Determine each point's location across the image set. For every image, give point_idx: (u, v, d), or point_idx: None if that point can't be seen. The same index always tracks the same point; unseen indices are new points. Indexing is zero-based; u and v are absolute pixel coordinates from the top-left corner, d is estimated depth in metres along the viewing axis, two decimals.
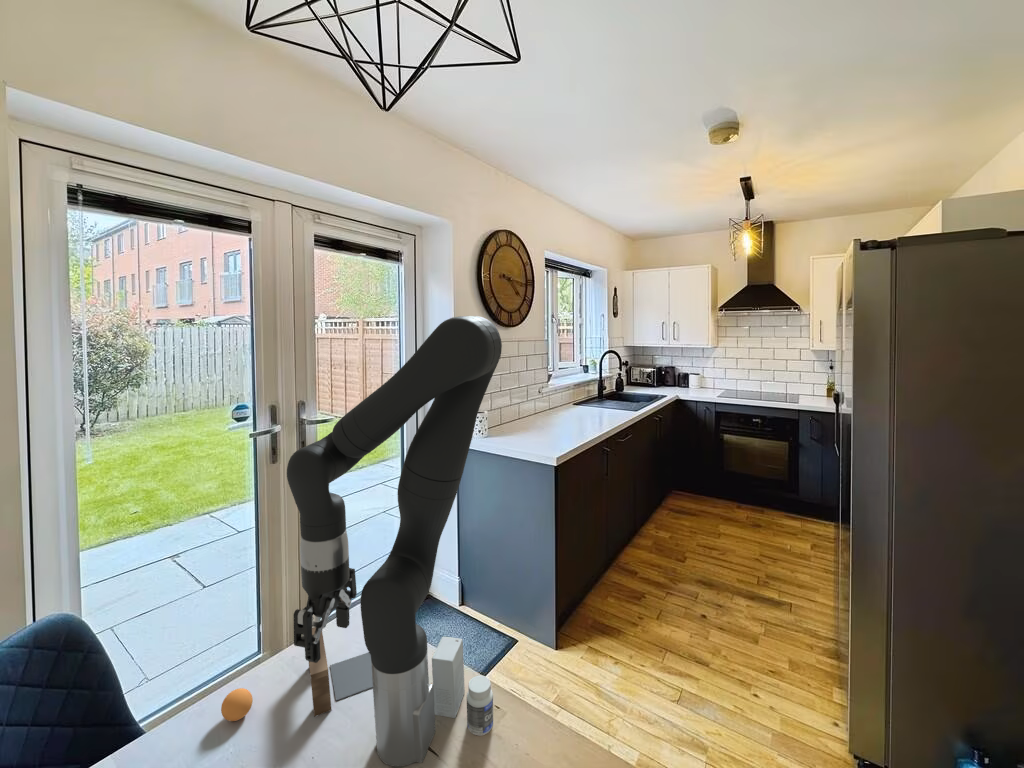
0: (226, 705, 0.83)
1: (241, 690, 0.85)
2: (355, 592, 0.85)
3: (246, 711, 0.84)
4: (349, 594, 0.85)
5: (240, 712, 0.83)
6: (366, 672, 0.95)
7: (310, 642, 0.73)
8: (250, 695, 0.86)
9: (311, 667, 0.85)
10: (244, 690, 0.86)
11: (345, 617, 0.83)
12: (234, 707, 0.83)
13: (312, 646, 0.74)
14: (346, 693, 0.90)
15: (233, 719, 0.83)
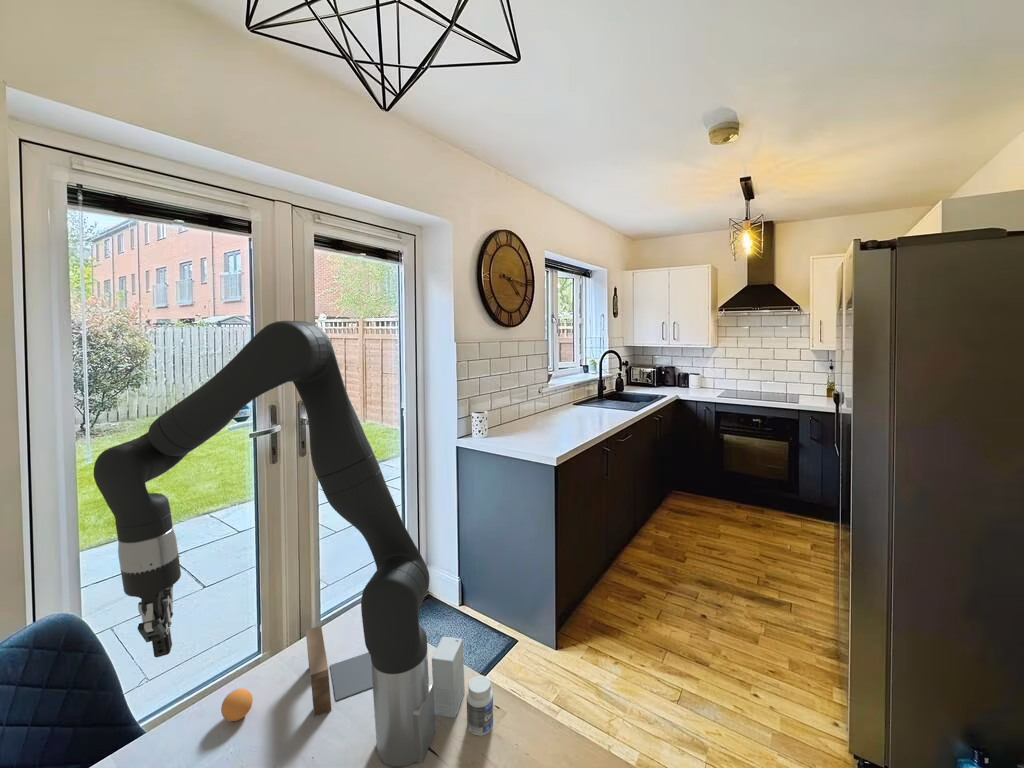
0: (226, 705, 0.83)
1: (241, 690, 0.85)
2: (171, 612, 0.81)
3: (246, 711, 0.84)
4: None
5: (240, 712, 0.83)
6: (366, 672, 0.95)
7: (165, 631, 0.76)
8: (250, 695, 0.86)
9: (311, 667, 0.85)
10: (244, 690, 0.86)
11: None
12: (234, 707, 0.83)
13: (163, 638, 0.77)
14: (346, 693, 0.90)
15: (233, 719, 0.83)
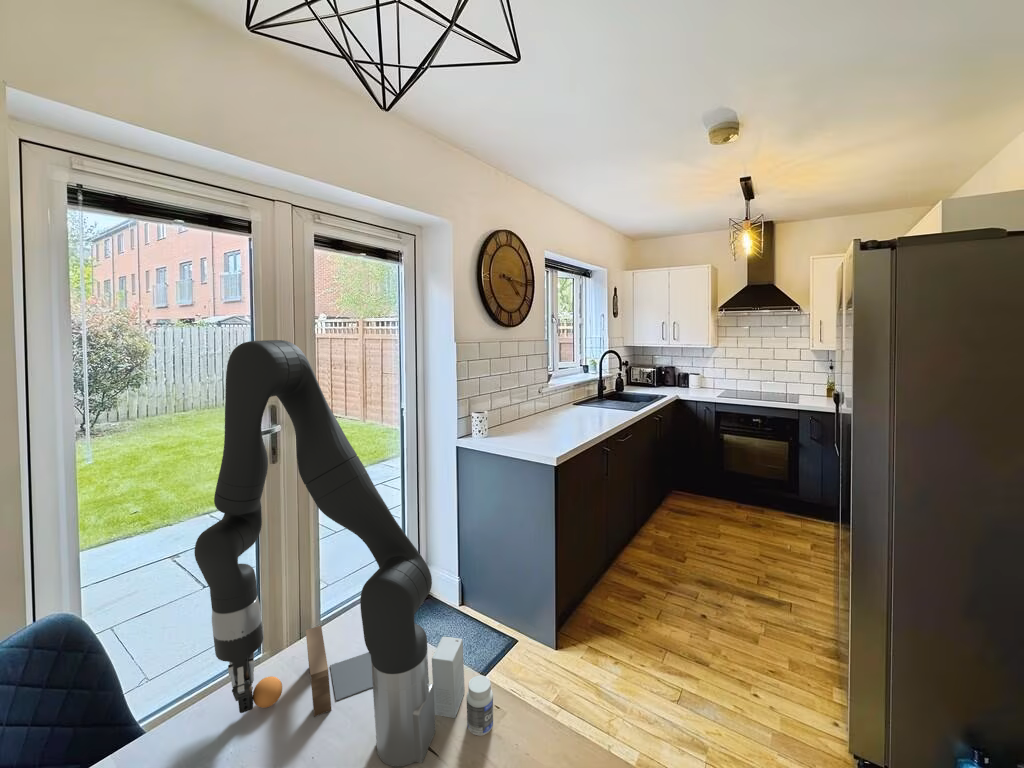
0: (277, 684, 0.87)
1: None
2: None
3: (265, 706, 0.86)
4: None
5: (269, 702, 0.86)
6: (366, 672, 0.95)
7: (251, 690, 0.83)
8: None
9: (311, 667, 0.85)
10: None
11: (250, 696, 0.85)
12: (276, 694, 0.87)
13: (248, 695, 0.84)
14: (346, 693, 0.90)
15: (262, 697, 0.85)
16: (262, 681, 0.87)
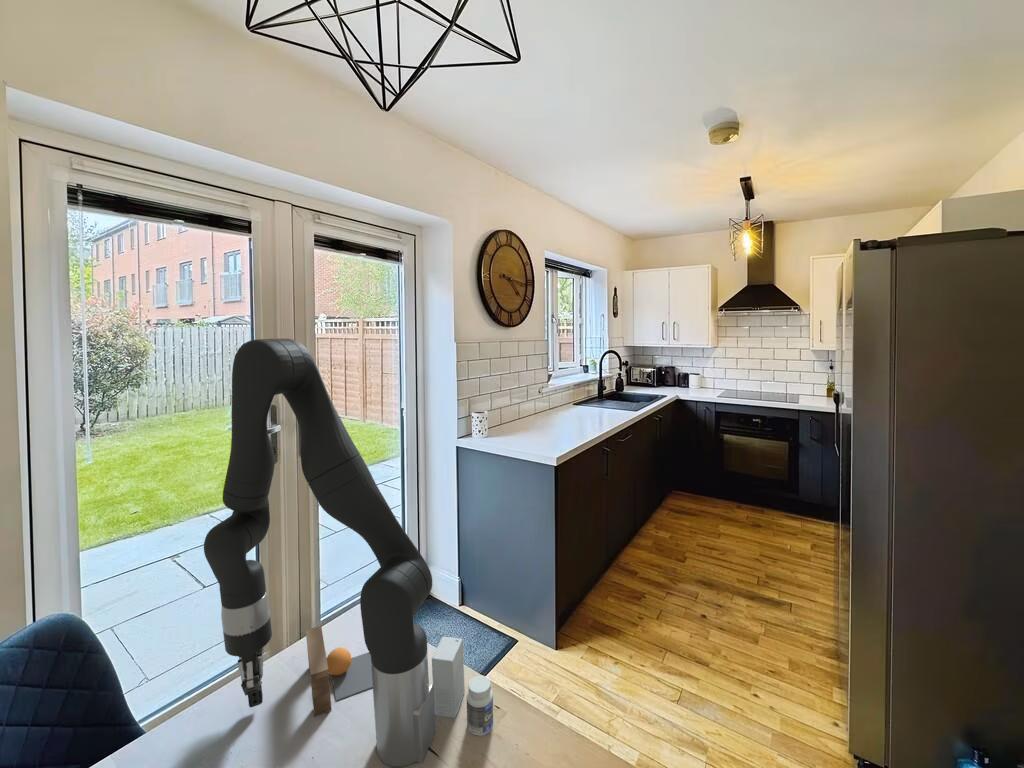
0: (336, 656, 0.94)
1: (347, 650, 0.96)
2: None
3: (345, 671, 0.94)
4: None
5: (343, 669, 0.93)
6: (366, 672, 0.95)
7: (260, 685, 0.84)
8: None
9: (311, 667, 0.85)
10: (349, 652, 0.96)
11: (259, 690, 0.86)
12: (342, 661, 0.93)
13: None
14: (346, 693, 0.90)
15: (335, 672, 0.93)
16: None
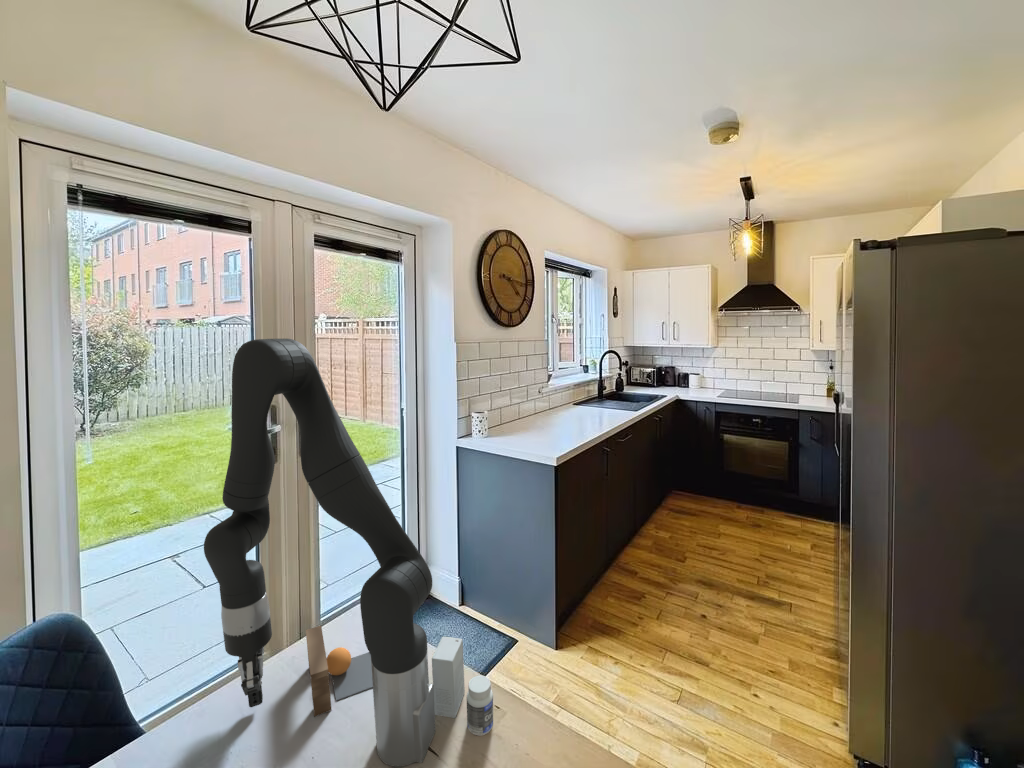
0: (336, 656, 0.94)
1: (347, 650, 0.96)
2: None
3: (345, 671, 0.94)
4: None
5: (343, 669, 0.93)
6: (366, 672, 0.95)
7: (260, 685, 0.84)
8: None
9: (311, 667, 0.85)
10: (349, 652, 0.96)
11: (259, 690, 0.86)
12: (342, 661, 0.93)
13: None
14: (346, 693, 0.90)
15: (335, 672, 0.93)
16: None
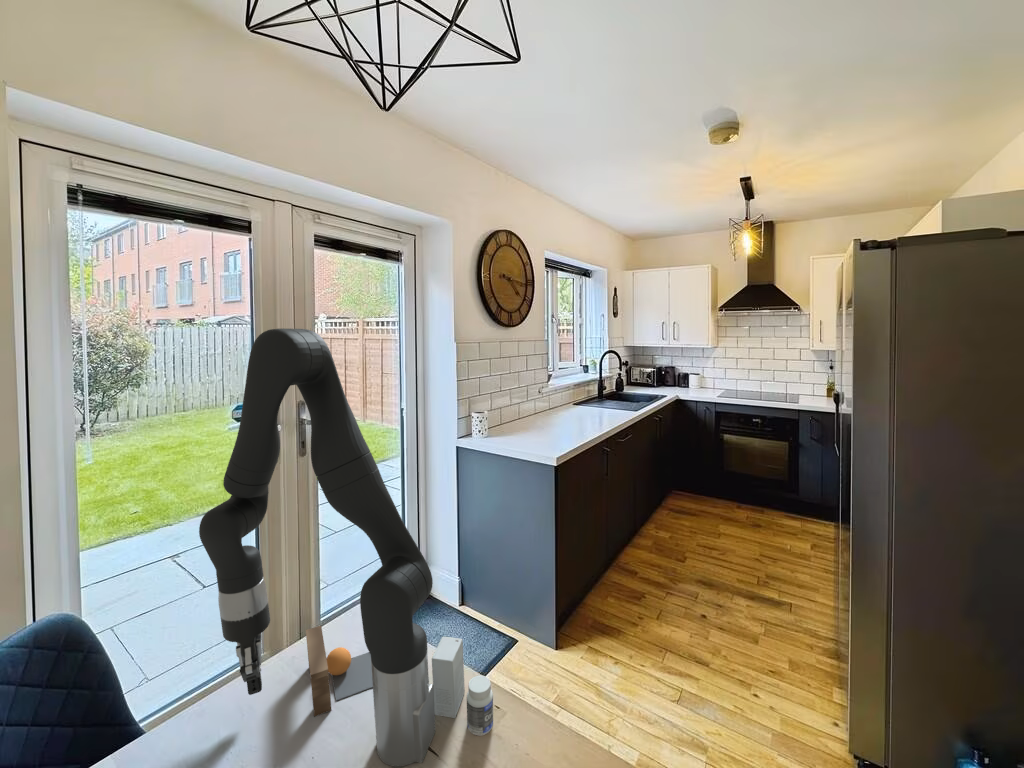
0: (336, 656, 0.94)
1: (347, 650, 0.96)
2: None
3: (345, 671, 0.94)
4: None
5: (343, 669, 0.93)
6: (366, 672, 0.95)
7: (259, 671, 0.83)
8: None
9: (311, 667, 0.85)
10: (349, 652, 0.96)
11: (258, 678, 0.86)
12: (342, 661, 0.93)
13: None
14: (346, 693, 0.90)
15: (335, 672, 0.93)
16: None
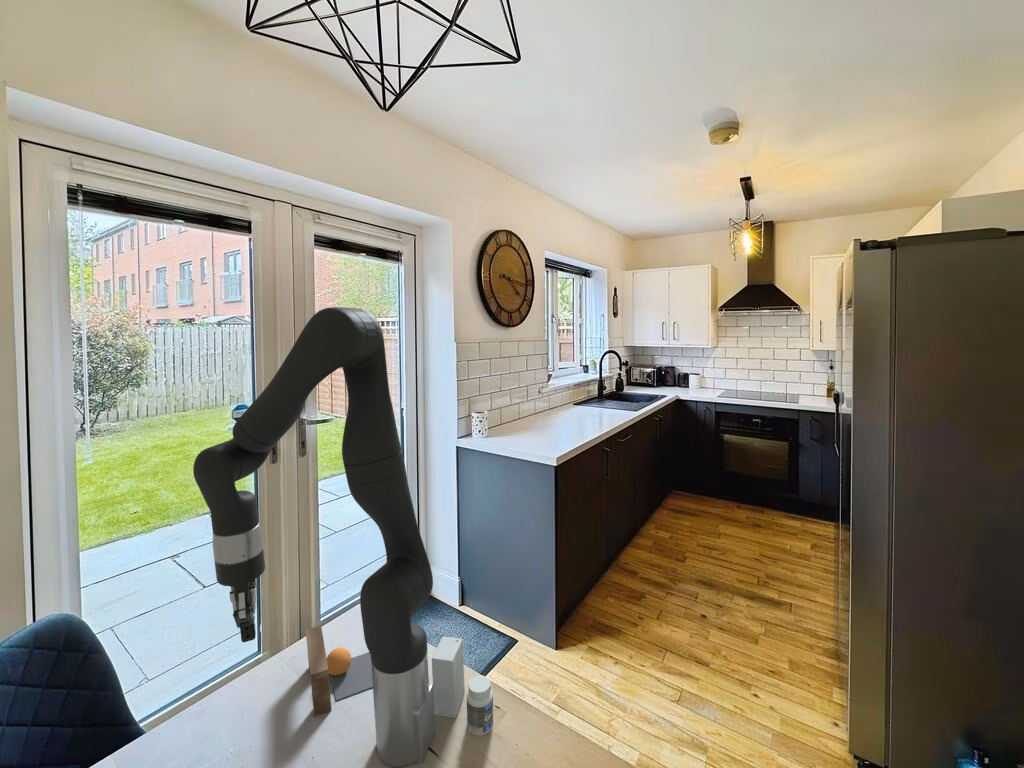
0: (336, 656, 0.94)
1: (347, 650, 0.96)
2: None
3: (345, 671, 0.94)
4: None
5: (343, 669, 0.93)
6: (366, 672, 0.95)
7: (253, 618, 0.82)
8: None
9: (311, 667, 0.85)
10: (349, 652, 0.96)
11: None
12: (342, 661, 0.93)
13: (250, 624, 0.83)
14: (346, 693, 0.90)
15: (335, 672, 0.93)
16: None
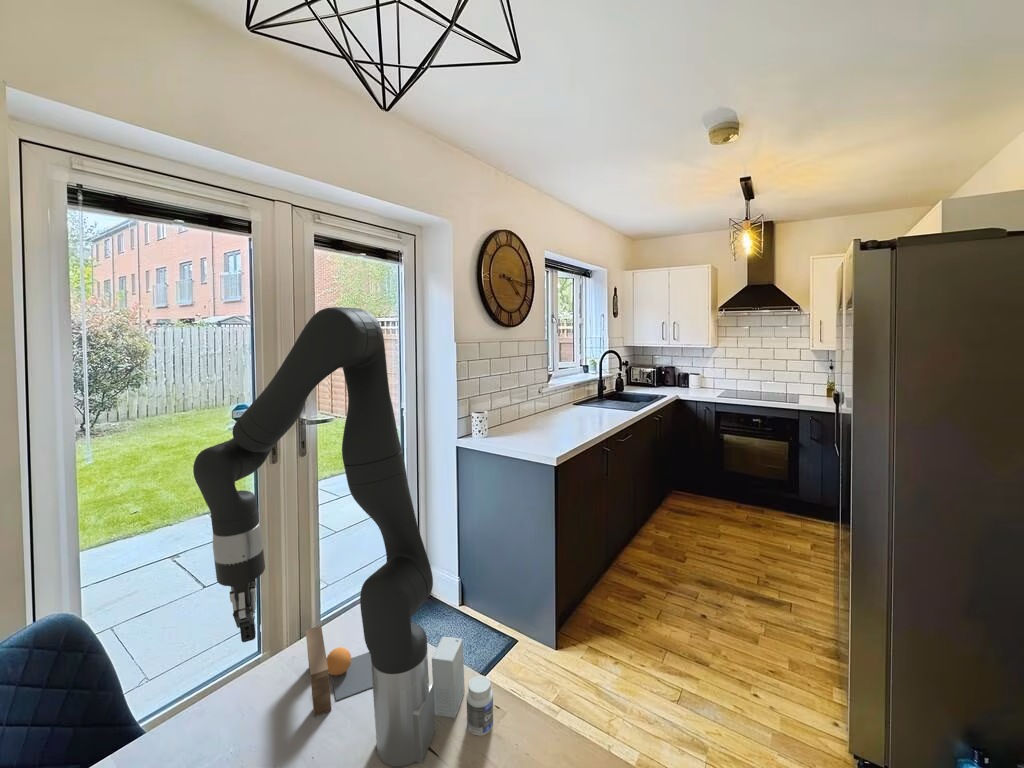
0: (336, 656, 0.94)
1: (347, 650, 0.96)
2: None
3: (345, 671, 0.94)
4: None
5: (343, 669, 0.93)
6: (366, 672, 0.95)
7: (253, 618, 0.82)
8: None
9: (311, 667, 0.85)
10: (349, 652, 0.96)
11: None
12: (342, 661, 0.93)
13: (250, 624, 0.83)
14: (346, 693, 0.90)
15: (335, 672, 0.93)
16: None
